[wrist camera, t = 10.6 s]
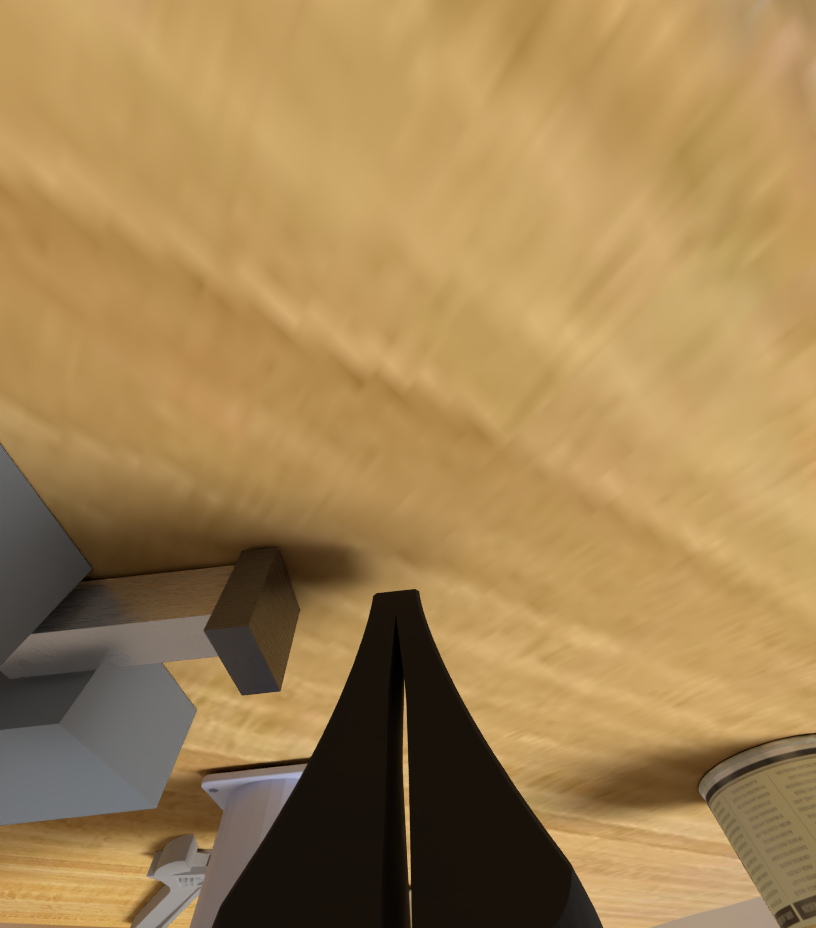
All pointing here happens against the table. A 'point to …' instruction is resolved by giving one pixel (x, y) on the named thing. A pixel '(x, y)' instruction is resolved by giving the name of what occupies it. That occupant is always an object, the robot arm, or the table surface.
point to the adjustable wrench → (174, 881)
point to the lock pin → (172, 623)
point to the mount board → (72, 690)
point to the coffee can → (772, 822)
